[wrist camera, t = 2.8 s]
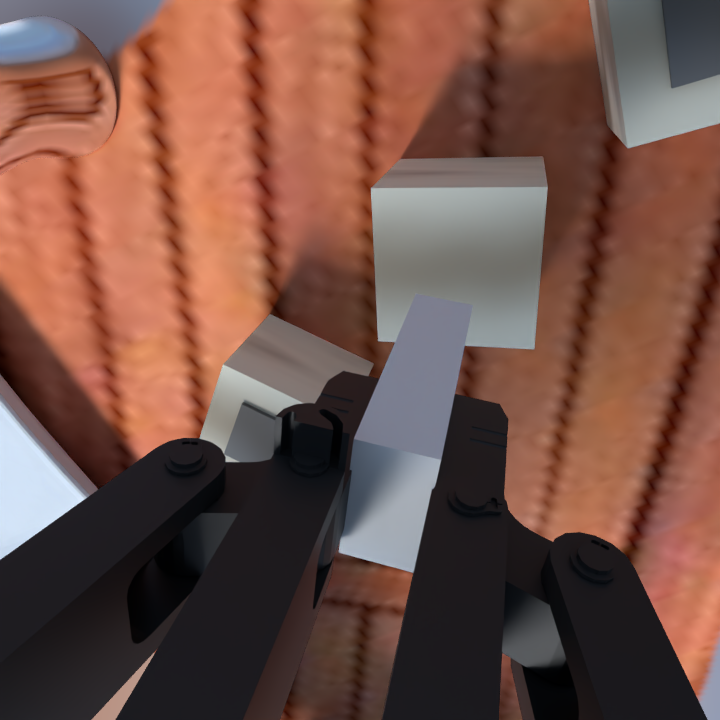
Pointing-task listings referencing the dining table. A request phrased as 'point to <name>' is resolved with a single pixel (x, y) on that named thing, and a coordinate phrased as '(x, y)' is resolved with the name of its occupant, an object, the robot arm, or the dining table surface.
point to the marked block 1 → (270, 386)
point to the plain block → (462, 243)
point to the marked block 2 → (658, 66)
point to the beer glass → (52, 92)
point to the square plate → (32, 475)
